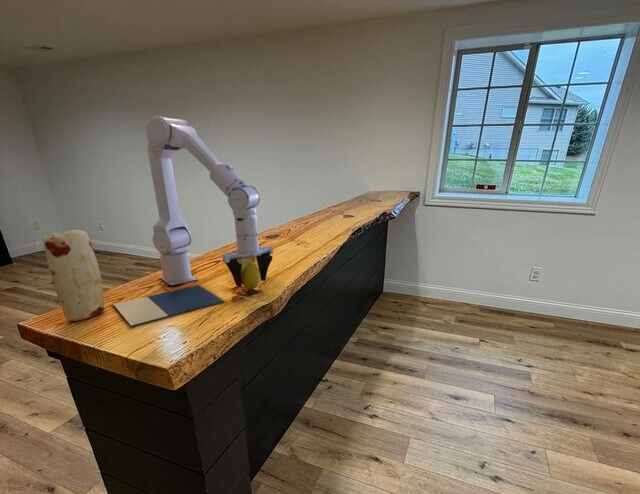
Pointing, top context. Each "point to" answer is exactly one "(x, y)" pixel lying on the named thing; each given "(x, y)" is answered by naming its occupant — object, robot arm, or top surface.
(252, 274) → the lemon
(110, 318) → the top surface
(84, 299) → the food model
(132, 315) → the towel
